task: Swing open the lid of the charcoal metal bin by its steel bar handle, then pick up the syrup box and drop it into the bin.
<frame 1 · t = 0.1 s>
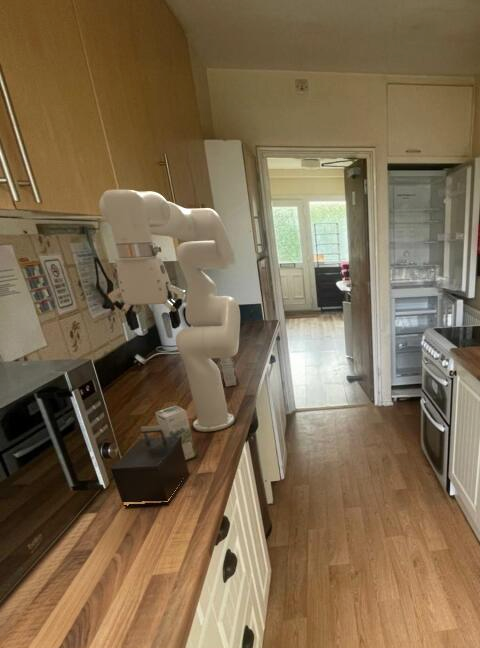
hand: (155, 328, 102), 37 cm above the table, tool pointing down, fingers open, 9 cm apart
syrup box: (182, 458, 119), on the table
bin: (158, 490, 105), on the table
bin lid: (146, 444, 100), point 12 cm above the table, hinge at 0.0°
candy bar box: (230, 382, 176), on the table
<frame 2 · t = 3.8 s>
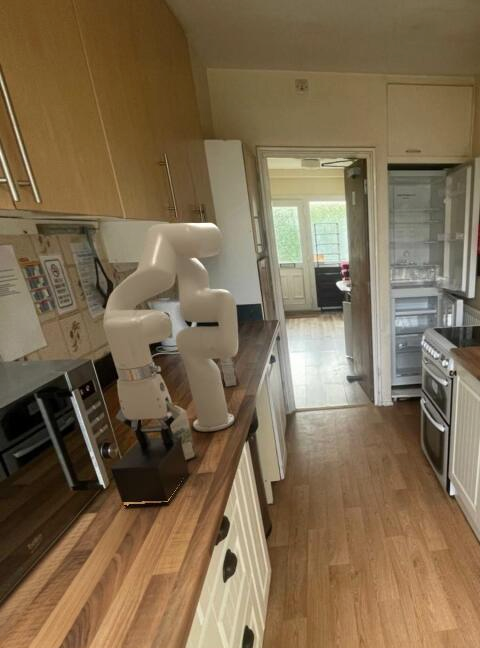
hand: (156, 441, 105), 11 cm above the table, tool pointing down, fingers closed on bin lid, 5 cm apart
bin lid: (146, 444, 100), point 12 cm above the table, hinge at -0.1°, touching gripper
everything else where it was.
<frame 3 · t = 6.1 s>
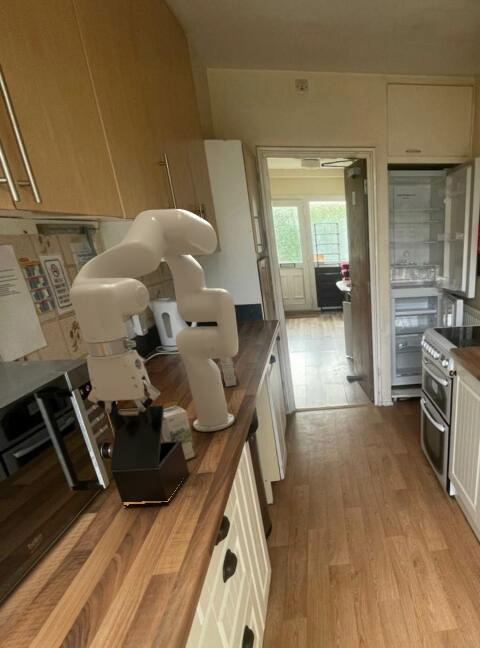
hand: (133, 425, 95), 19 cm above the table, tool pointing down, fingers closed on bin lid, 5 cm apart
bin lid: (132, 434, 94), point 17 cm above the table, hinge at 48.4°, touching gripper
everything else where it was.
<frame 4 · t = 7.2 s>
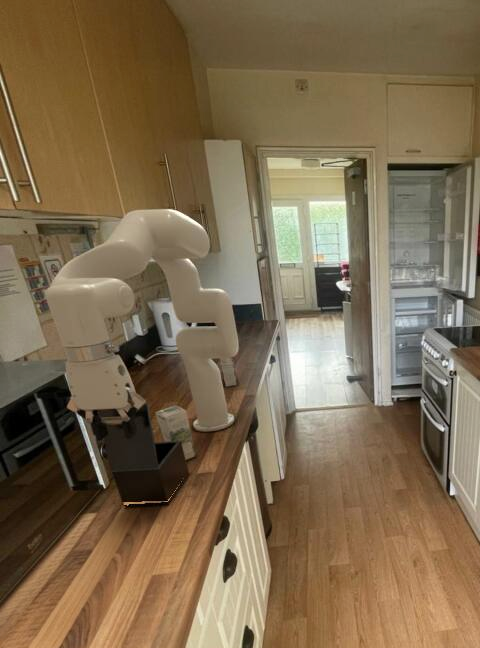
hand: (117, 436, 88), 20 cm above the table, tool pointing down, fingers closed on bin lid, 5 cm apart
bin lid: (123, 440, 91), point 18 cm above the table, hinge at 78.3°, touching gripper
everything else where it was.
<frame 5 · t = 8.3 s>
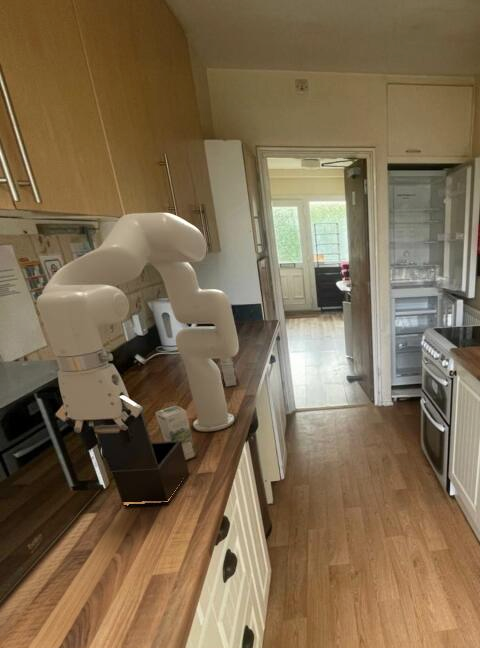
hand: (111, 445, 86), 19 cm above the table, tool pointing down, fingers open, 6 cm apart
bin lid: (120, 445, 89), point 17 cm above the table, hinge at 91.0°
everything else where it was.
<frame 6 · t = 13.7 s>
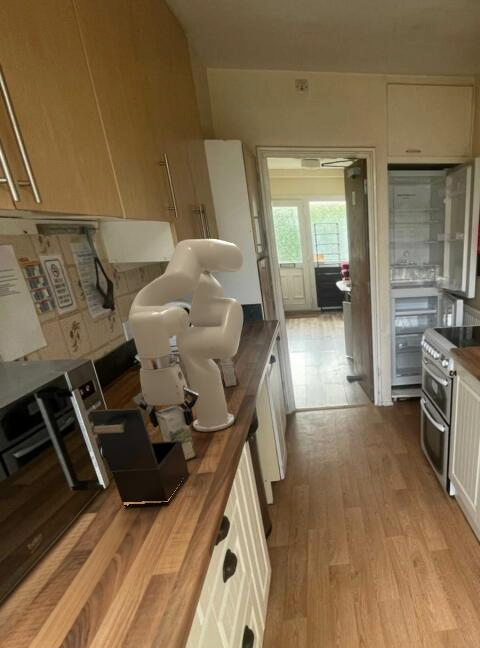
hand: (173, 424, 115), 10 cm above the table, tool pointing down, fingers closed on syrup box, 8 cm apart
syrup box: (182, 458, 119), on the table, touching gripper
everything else where it was.
when the fingers open (11 cm above the table, at t = 21.7 s): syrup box stays where it is, resting on bin.
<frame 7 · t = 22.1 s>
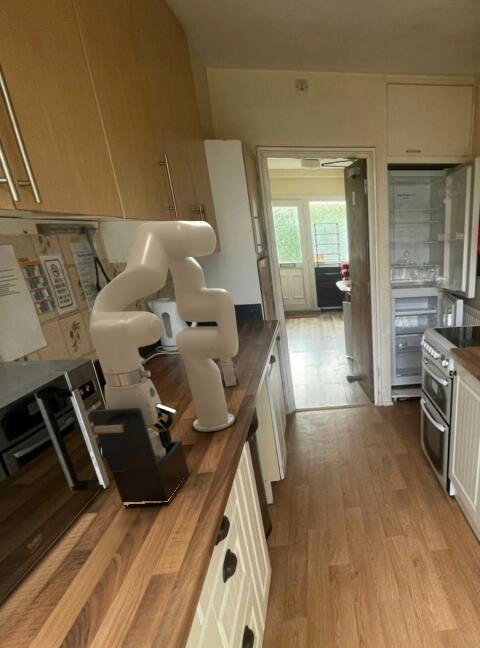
hand: (145, 446, 100), 12 cm above the table, tool pointing down, fingers open, 9 cm apart
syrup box: (158, 487, 105), point 1 cm above the table, touching bin
everything else where it was.
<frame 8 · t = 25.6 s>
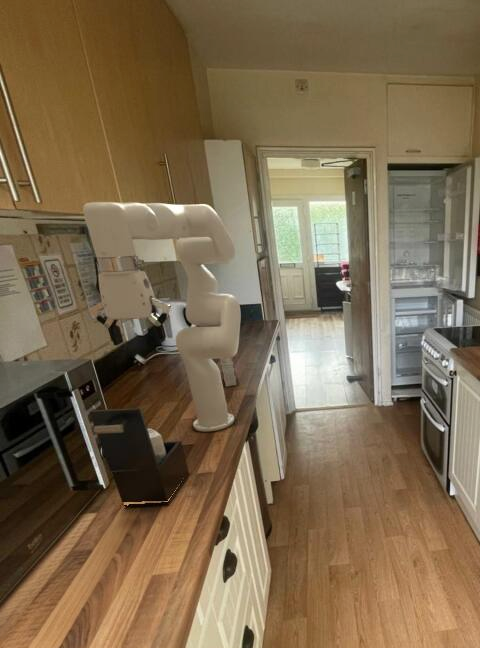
hand: (140, 343, 100), 34 cm above the table, tool pointing down, fingers open, 9 cm apart
nothing on the table moved.
at the end: bin lid at +91° (first picture: +0°); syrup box inside the target area in the bin (0.1 cm from its centre), point 0.6 cm above the bin's base; the gripper is holding nothing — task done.
